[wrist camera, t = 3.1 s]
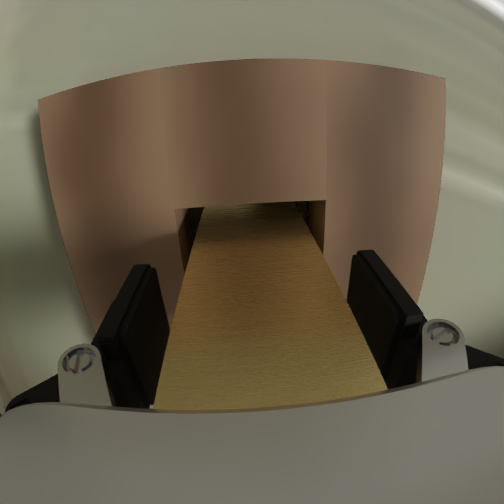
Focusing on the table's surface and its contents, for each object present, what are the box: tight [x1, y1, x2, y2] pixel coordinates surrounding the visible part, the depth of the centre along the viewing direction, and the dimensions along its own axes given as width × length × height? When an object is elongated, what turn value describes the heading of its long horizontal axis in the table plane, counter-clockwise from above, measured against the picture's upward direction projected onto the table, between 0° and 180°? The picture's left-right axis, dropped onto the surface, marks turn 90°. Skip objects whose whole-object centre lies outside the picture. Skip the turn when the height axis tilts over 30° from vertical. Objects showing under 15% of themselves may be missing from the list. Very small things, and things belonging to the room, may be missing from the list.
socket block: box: [38, 59, 446, 334], centre depth 14 cm, size 16×16×3 cm
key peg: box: [153, 201, 388, 410], centre depth 10 cm, size 4×4×12 cm
